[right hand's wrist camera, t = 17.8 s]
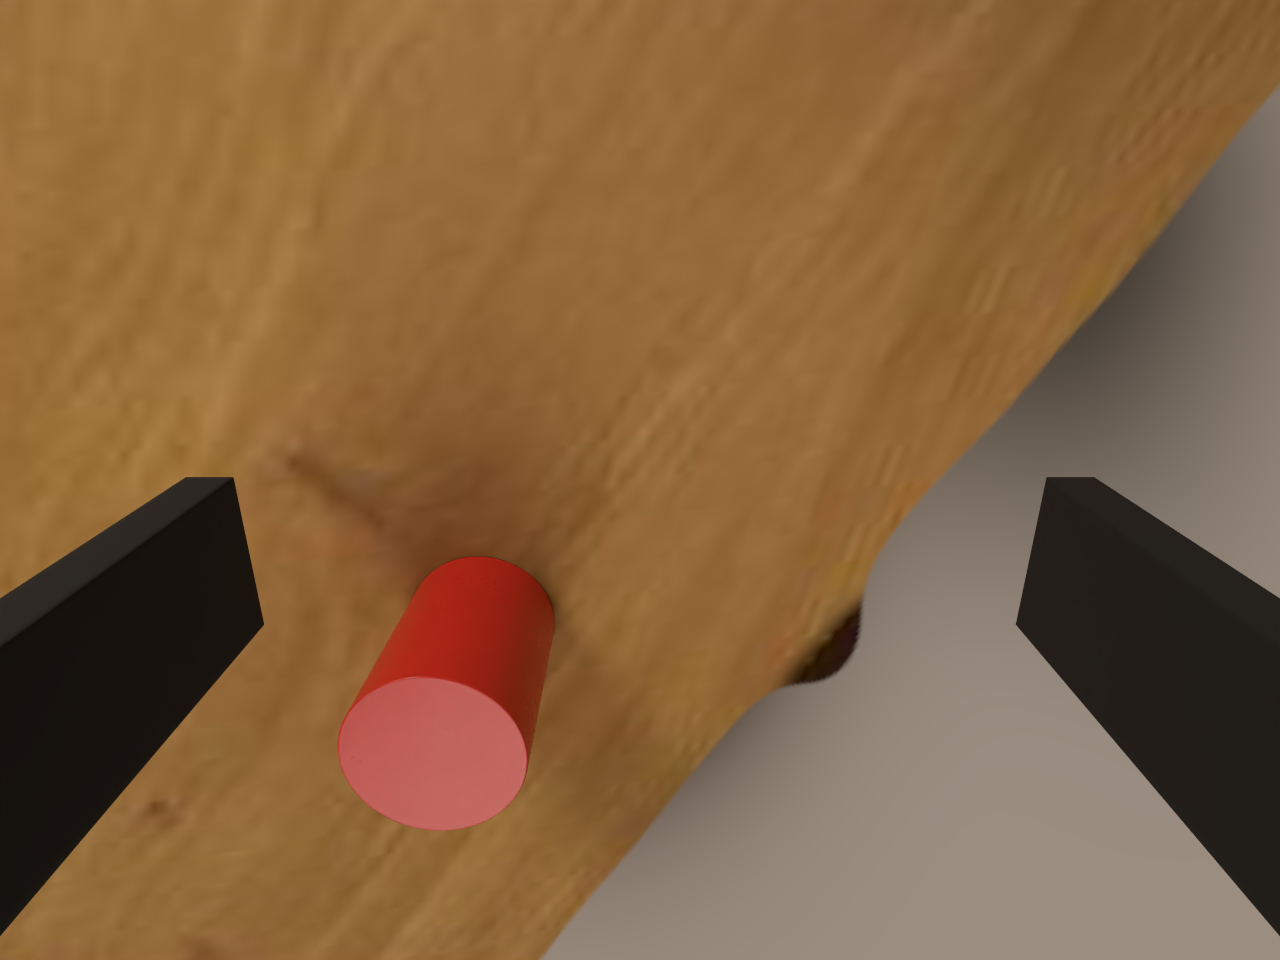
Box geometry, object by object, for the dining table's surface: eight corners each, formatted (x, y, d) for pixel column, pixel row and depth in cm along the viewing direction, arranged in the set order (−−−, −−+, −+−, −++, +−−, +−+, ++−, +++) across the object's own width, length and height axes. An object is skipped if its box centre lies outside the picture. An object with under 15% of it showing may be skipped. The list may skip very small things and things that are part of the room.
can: (404, 668, 34) (331, 815, 26) (418, 544, 32) (343, 661, 24) (542, 691, 34) (513, 843, 26) (565, 570, 32) (541, 695, 24)
